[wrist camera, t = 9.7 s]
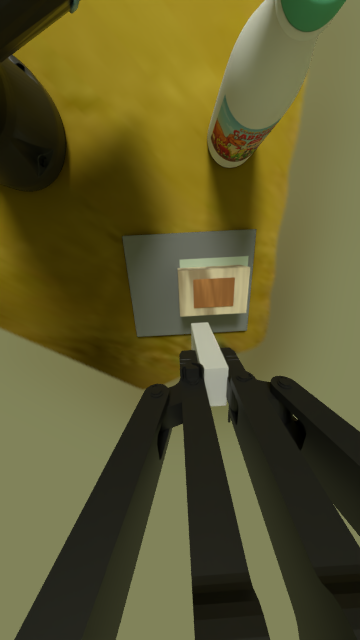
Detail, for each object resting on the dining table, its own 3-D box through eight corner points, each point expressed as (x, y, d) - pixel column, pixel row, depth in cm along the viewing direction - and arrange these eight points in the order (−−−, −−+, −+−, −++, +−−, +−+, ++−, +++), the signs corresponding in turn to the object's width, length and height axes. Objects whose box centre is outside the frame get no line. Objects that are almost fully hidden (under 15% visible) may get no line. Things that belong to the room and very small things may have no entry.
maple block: (180, 316, 33) (246, 313, 33) (177, 271, 30) (250, 267, 30) (179, 308, 38) (237, 304, 38) (177, 268, 35) (240, 264, 35)
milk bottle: (197, 126, 28) (244, -110, 10) (244, 92, 27) (402, -257, 8) (219, 179, 31) (289, 74, 12) (262, 151, 29) (415, -16, 11)
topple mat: (137, 335, 41) (137, 336, 40) (123, 236, 33) (122, 236, 33) (245, 329, 41) (246, 330, 40) (254, 229, 34) (256, 229, 33)
